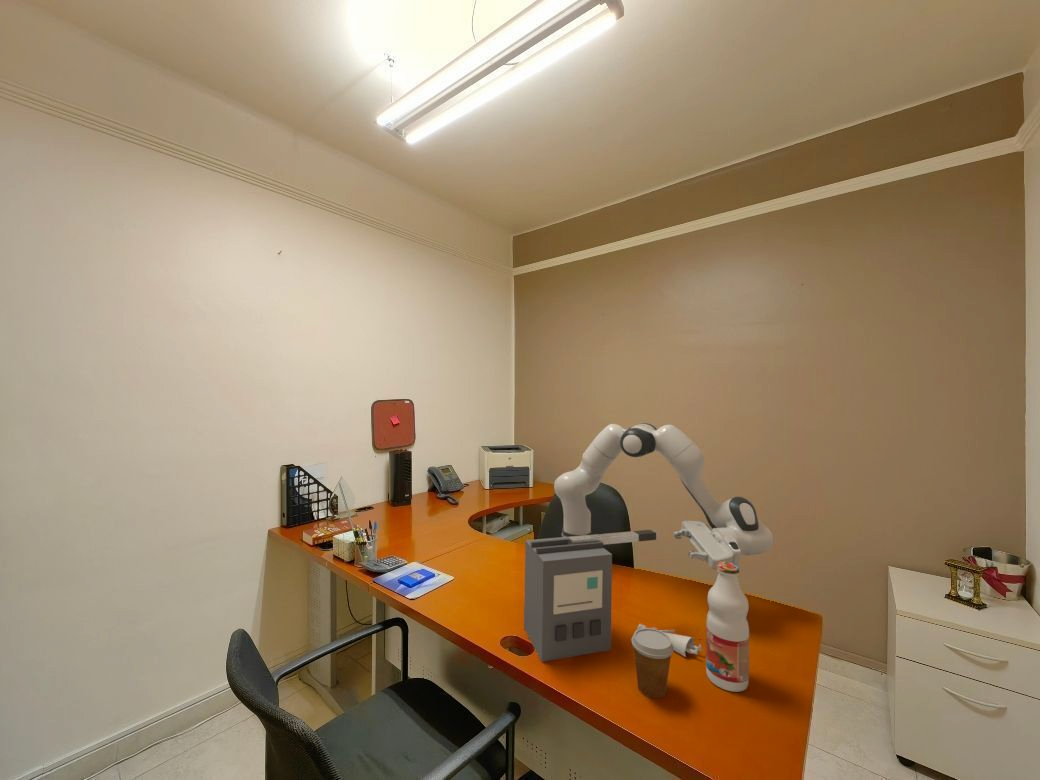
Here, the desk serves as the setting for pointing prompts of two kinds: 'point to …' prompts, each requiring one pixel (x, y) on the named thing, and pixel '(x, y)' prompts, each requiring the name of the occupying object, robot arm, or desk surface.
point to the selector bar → (615, 537)
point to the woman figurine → (679, 642)
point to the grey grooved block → (567, 597)
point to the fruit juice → (727, 631)
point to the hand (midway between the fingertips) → (682, 544)
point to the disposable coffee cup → (652, 660)
